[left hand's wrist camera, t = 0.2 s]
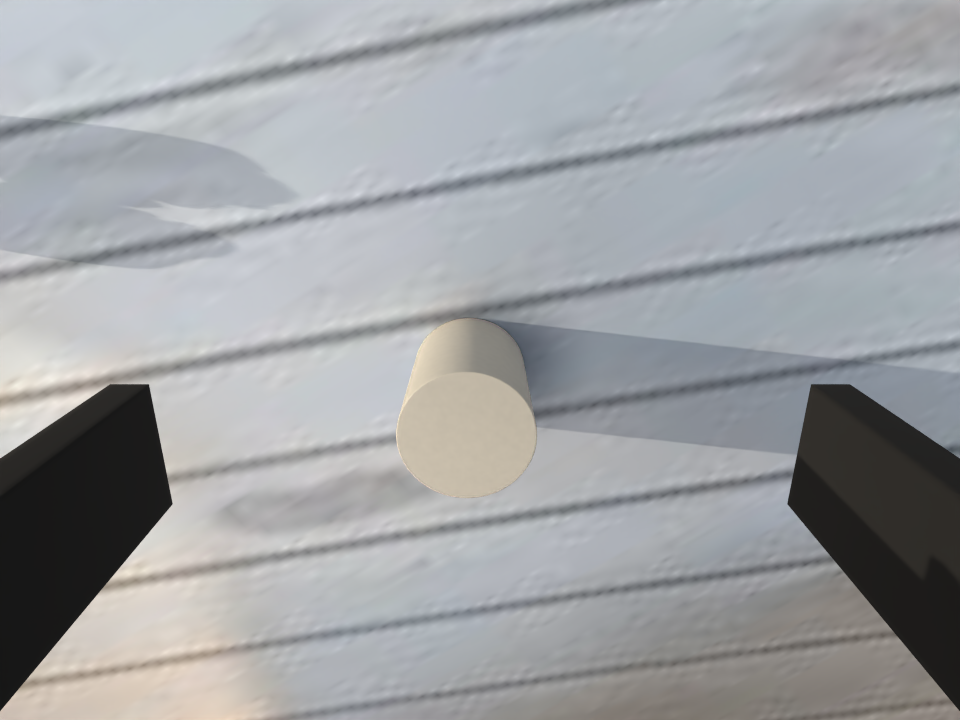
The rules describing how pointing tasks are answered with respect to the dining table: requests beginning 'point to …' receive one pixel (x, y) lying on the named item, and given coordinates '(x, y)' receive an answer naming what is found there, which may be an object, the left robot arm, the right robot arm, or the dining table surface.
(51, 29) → the dining table surface
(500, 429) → the cylinder
